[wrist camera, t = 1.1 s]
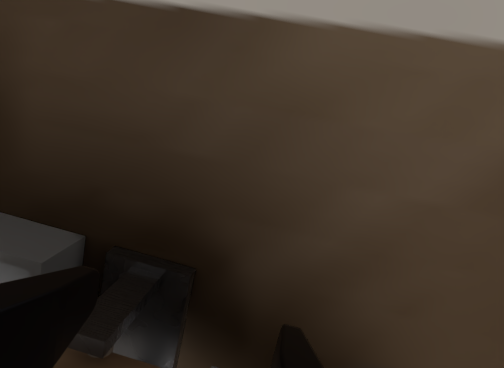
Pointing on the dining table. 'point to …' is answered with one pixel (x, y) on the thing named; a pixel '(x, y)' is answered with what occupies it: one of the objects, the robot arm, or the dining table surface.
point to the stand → (138, 309)
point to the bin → (36, 248)
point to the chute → (99, 361)
